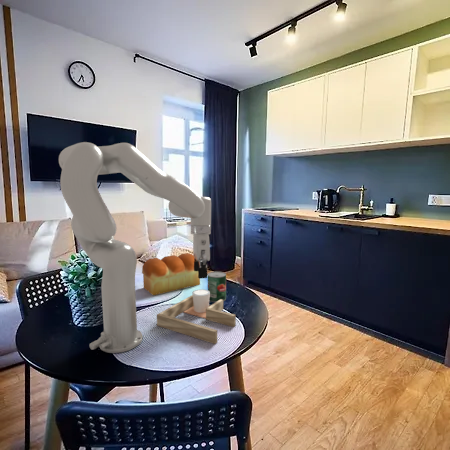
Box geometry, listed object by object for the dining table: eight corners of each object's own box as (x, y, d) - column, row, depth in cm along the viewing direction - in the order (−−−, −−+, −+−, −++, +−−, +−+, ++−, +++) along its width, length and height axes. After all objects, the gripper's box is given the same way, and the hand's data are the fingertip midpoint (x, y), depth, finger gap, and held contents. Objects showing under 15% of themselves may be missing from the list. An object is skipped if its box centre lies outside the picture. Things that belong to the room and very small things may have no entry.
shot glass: (209, 313, 107) (209, 295, 106) (191, 313, 107) (191, 295, 106) (210, 305, 113) (210, 289, 113) (193, 305, 114) (193, 288, 113)
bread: (188, 278, 150) (188, 251, 148) (201, 284, 140) (200, 255, 138) (142, 288, 135) (141, 257, 133) (152, 296, 125) (151, 263, 123)
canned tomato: (208, 295, 126) (208, 271, 124) (226, 295, 125) (226, 271, 124) (206, 302, 118) (206, 276, 117) (225, 302, 118) (225, 277, 116)
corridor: (215, 344, 86) (215, 331, 86) (157, 325, 98) (156, 314, 97) (247, 315, 106) (247, 305, 105) (195, 302, 118) (195, 293, 117)
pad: (205, 318, 103) (205, 317, 103) (183, 312, 108) (183, 311, 108) (219, 308, 112) (219, 307, 112) (198, 303, 117) (198, 302, 117)
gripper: (215, 232, 98) (215, 280, 100) (205, 226, 115) (205, 268, 117) (194, 233, 96) (194, 281, 98) (187, 227, 113) (187, 268, 115)
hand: (200, 274), depth 108 cm, fingers open, 9 cm apart
